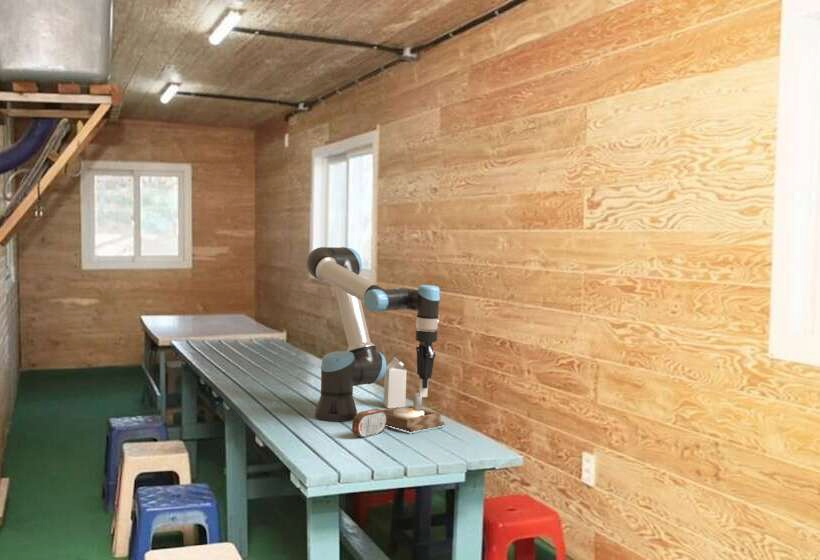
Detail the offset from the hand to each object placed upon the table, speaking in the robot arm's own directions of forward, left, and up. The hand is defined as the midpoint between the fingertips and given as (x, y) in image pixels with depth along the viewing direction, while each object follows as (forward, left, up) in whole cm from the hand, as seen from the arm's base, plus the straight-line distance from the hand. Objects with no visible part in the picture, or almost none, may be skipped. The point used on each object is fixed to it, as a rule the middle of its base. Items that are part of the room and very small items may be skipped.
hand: (422, 396), depth 266 cm
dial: (-1, +5, -9) cm, 10 cm away
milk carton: (+14, +30, -11) cm, 35 cm away
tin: (-21, +2, -11) cm, 24 cm away
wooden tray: (-1, +5, -11) cm, 12 cm away
